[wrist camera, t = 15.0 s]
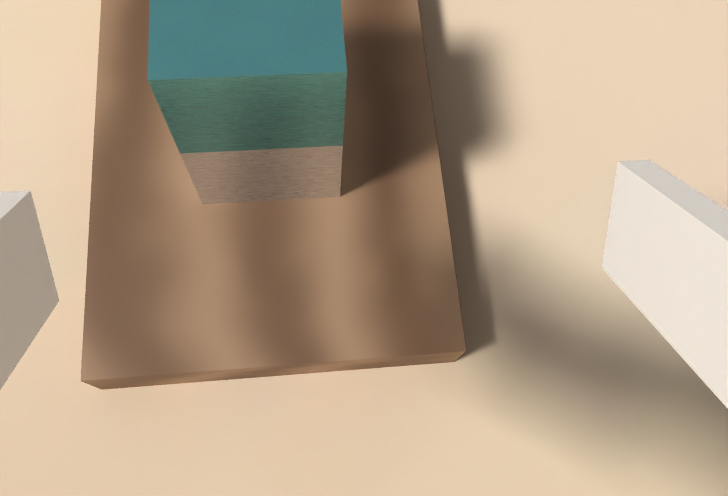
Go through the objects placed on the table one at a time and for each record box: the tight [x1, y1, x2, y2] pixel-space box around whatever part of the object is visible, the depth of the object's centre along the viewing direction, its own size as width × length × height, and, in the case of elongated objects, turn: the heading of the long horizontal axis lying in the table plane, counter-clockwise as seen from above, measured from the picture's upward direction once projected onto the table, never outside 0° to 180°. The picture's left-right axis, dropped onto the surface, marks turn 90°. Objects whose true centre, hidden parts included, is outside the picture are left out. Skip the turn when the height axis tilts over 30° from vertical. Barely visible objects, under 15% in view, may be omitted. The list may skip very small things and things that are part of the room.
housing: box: [148, 0, 347, 204], centre depth 30 cm, size 7×7×11 cm
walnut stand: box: [81, 0, 466, 389], centre depth 36 cm, size 18×24×3 cm
